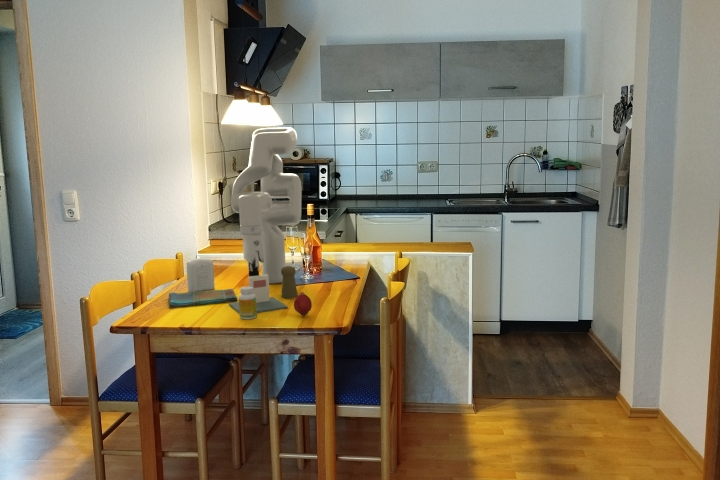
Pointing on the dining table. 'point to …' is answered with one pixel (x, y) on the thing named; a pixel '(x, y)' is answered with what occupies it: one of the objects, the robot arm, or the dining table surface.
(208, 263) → the photo printer
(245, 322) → the dining table surface
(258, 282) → the card box
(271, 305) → the mat
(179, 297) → the dish towel
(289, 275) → the pepper shaker
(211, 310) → the dining table surface
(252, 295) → the supplement bottle
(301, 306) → the onion
